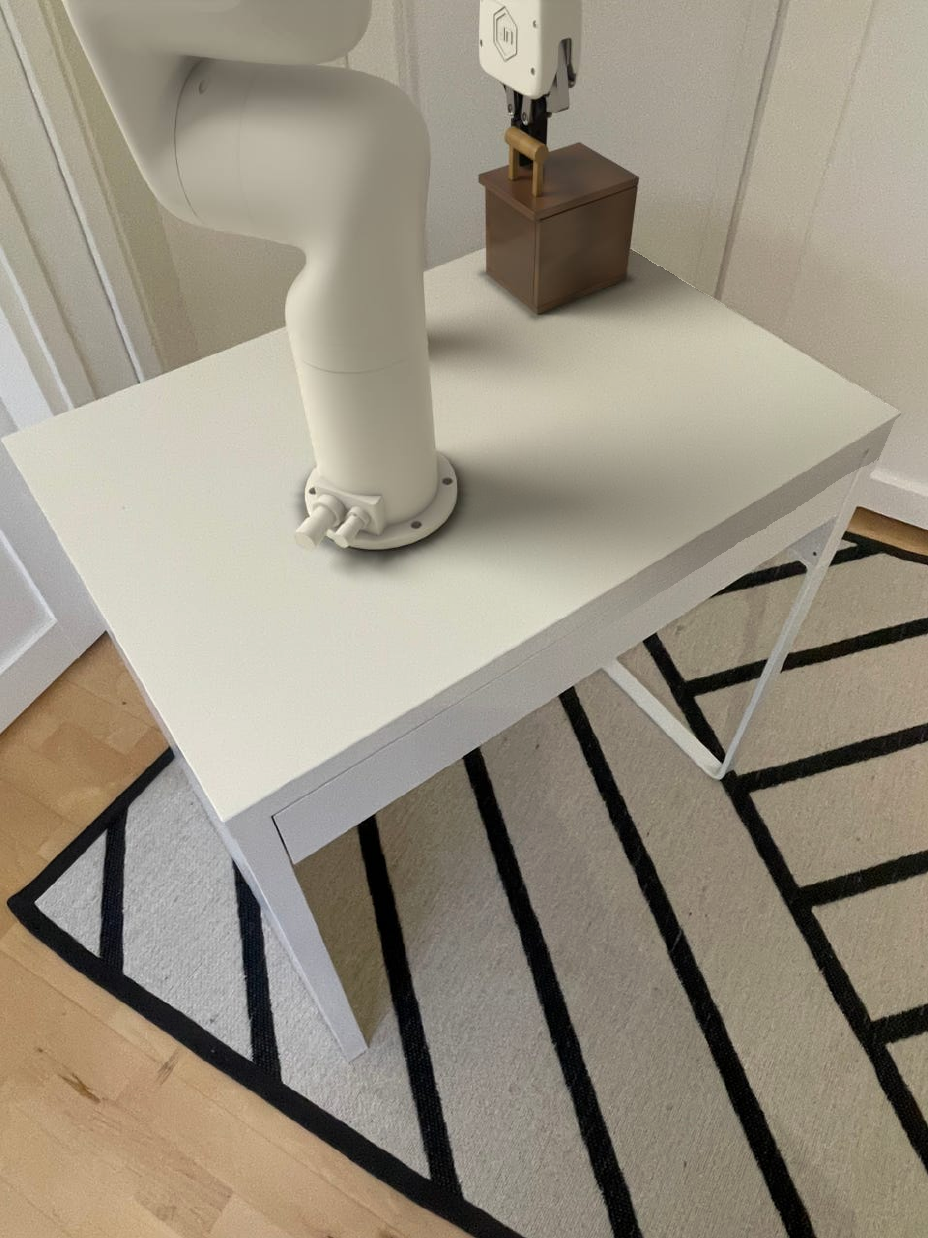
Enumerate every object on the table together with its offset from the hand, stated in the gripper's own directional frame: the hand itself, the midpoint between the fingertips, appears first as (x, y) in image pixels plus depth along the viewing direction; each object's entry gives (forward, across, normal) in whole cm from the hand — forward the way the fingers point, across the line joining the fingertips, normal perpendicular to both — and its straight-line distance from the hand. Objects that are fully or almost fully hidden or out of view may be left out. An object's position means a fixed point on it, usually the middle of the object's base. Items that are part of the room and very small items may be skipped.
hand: (528, 159), depth 85 cm
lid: (+1, +4, +1) cm, 4 cm away
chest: (+11, +4, +1) cm, 12 cm away
